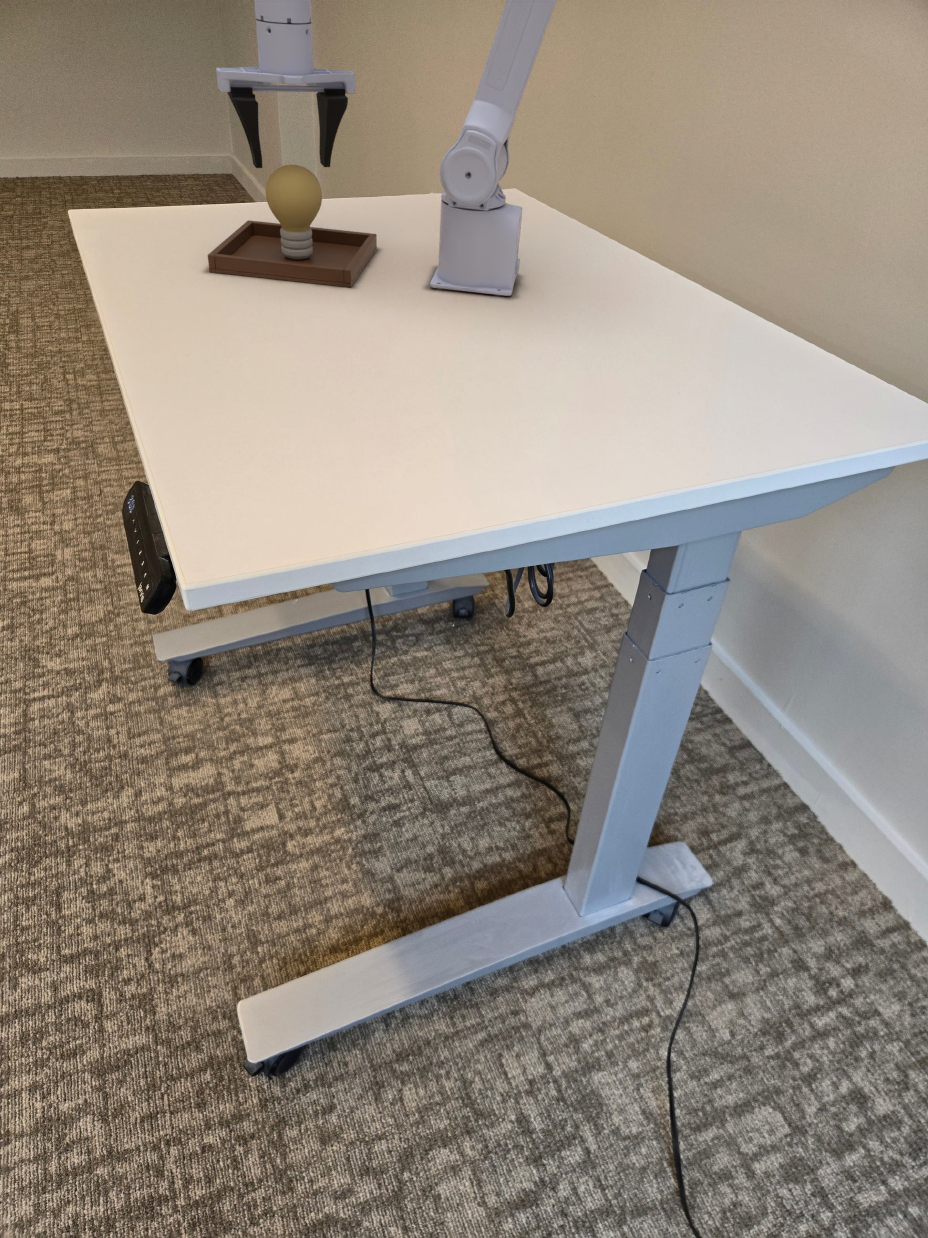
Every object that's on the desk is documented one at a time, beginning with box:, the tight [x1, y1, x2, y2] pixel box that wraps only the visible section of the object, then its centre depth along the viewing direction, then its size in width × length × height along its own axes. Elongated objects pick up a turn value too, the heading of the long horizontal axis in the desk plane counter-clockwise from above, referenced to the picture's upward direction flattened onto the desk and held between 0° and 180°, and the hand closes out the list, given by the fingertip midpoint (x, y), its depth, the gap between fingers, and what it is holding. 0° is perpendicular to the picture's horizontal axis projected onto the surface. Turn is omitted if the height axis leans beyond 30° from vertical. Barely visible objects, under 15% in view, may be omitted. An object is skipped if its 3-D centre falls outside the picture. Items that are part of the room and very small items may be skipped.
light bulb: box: [265, 164, 323, 259], centre depth 102 cm, size 6×6×10 cm
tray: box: [207, 220, 378, 288], centre depth 104 cm, size 17×15×2 cm
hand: (291, 165), depth 98 cm, fingers open, 7 cm apart
